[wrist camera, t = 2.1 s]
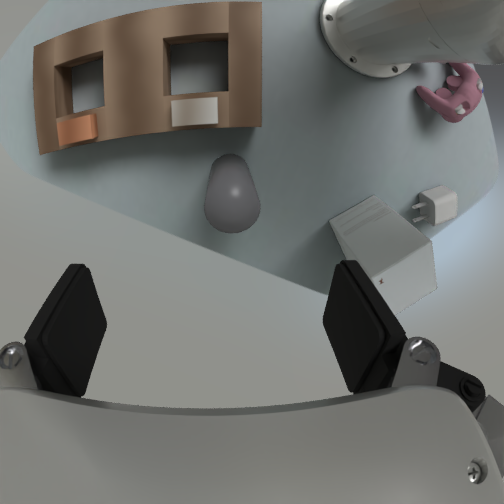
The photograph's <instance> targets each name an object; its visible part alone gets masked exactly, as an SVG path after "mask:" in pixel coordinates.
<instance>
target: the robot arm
mask: <svg viewBox="0 0 504 504" xmlns="http://www.w3.org/2000/svg"><path fill="white" fill-rule="evenodd" d="M326 18H328V20H329V21H328V20H326ZM320 25H321V30H322V33H323V36H324V38H325V40H326V42H327V44H328V45H329V47H330V49H331V50H332V51H333V52H334V54H335V55H336V56H337V57H338V58H339V59H340V60H341V61H342V62H343V63H344V64H346V65H347V66H349V67H350V68H351V69H353V70H355V71H357V72H359V73H361V74H364V75H367V76H370V77H378V78H388V77H393V76H397V75H399V74H401V73H403V72H404V71H405V70H407V69H408V68H409V67H410V65H411V64H412V63H429V62H439V63H441V64H446V63H447V62H450V63H473V64H486V65H498V64H503V63H504V0H324V2H323V4H322V6H321V10H320ZM350 59H351V60H352V62H351V61H350ZM323 325H324V328H325V331H326V333H327V336H328V338H329V341H330V343H331V346H332V348H333V351H334V353H335V356H336V359H337V361H338V363H339V366H340V369H341V372H342V374H343V377H344V379H345V382H346V385H347V388H348V390H349V391H350V392H353V393H354V394H353V395H348V396H342V397H336V398H329V399H323V400H317V401H310V402H302V403H294V404H285V405H274V406H262V407H245V408H216V409H215V408H214V409H199V408H165V407H150V406H139V405H128V404H120V403H112V402H104V401H97V400H91V399H85V398H81V396H83V395H84V394H85V392H86V388H87V385H88V382H89V379H90V375H91V372H92V369H93V366H94V363H95V360H96V357H97V353H98V351H99V348H100V345H101V342H102V339H103V337H104V334H105V331H106V328H107V321H106V318H105V315H104V312H103V310H102V306H101V304H100V301H99V298H98V295H97V291H96V288H95V285H94V282H93V279H92V275H91V272H90V270H89V268H86V266H85V265H84V264H70V265H69V266H68V268H67V269H66V271H65V272H64V274H63V275H62V276H61V278H60V279H59V281H58V282H57V284H56V286H55V287H54V288H53V290H52V291H51V293H50V294H49V296H48V298H47V299H46V301H45V302H44V304H43V306H42V307H41V309H40V310H39V312H38V314H37V315H36V317H35V319H34V320H33V322H32V324H31V326H30V327H29V329H28V331H27V333H26V334H25V336H24V338H25V340H26V343H25V345H23V344H22V343H20V342H11V343H8V344H7V345H5V346H4V347H3V348H2V349H1V350H0V504H504V483H503V480H502V478H503V476H504V406H503V405H502V404H501V403H499V402H498V401H497V400H495V399H494V398H493V397H492V396H490V395H488V396H487V397H486V396H485V389H484V386H483V384H482V383H481V381H480V380H479V379H478V378H476V377H475V376H473V375H471V374H468V373H466V372H464V371H461V370H459V369H457V368H455V367H452V366H450V365H448V364H445V363H443V362H441V361H440V352H439V350H438V348H437V347H436V345H435V344H434V343H432V342H431V341H430V340H428V339H426V338H422V337H412V338H409V339H408V338H407V337H406V335H405V333H406V332H405V331H404V330H403V328H402V326H401V325H400V323H399V322H398V320H397V318H396V317H395V315H394V314H393V312H392V311H391V309H390V308H389V306H388V305H387V303H386V302H385V300H384V299H383V297H382V296H381V294H380V293H379V291H378V290H377V288H376V287H375V286H374V284H373V283H372V281H371V280H370V278H369V277H368V276H367V274H366V273H365V271H364V270H363V268H362V267H361V266H360V264H359V263H358V262H357V261H356V260H342V261H341V262H340V264H337V265H336V267H335V271H334V275H333V279H332V283H331V288H330V292H329V296H328V300H327V304H326V307H325V311H324V315H323Z"/></svg>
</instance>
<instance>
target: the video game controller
mask: <svg viewBox="0 0 504 504" xmlns="http://www.w3.org/2000/svg"><path fill="white" fill-rule="evenodd" d="M448 63H449V64H450V65H451V66H452V68H453V69H454V70H455V71H456V72H457V73H458V74H459V75H460V76H454V75H451V76H448V77H447V84H448V88H449V89H450V90H452V91H455V93H454V94H453V95H452V93H451V92H450V91H449V90H448V89H446V88H439V89H438V90H437V91H436V94H435V93H433V92H432V91H431V90H429V89H428V88H426V87H424V86H417V87H416V91H417V93H418V94H419V96H420V97H421V98H422V99H423V100H424V101H425V102H426V103H427V104H428V105H429V106H430V107H431V108H433V109H434V110H435V111H437V112H438V113H439V114H441V115H442V117H443V118H444V119H445V120H446V121H448V122H451V123H456V122H459V121H461V120H462V119H463V117H465V116H467V115H468V114H470V113H471V112H472V111H473V110H474V109H475V108H476V107H477V105H478V104H479V102H480V100H481V97H482V93H483V84H482V81H481V79H480V77H479V75H478V74H477V73H476V72H475V71H474V70H473V69H472V68H471V67H470V66H468V65H467V64H466V63H450V62H448Z"/></svg>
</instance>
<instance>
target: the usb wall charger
mask: <svg viewBox="0 0 504 504" xmlns="http://www.w3.org/2000/svg"><path fill="white" fill-rule="evenodd" d="M419 202H420V203H419V204H416V205H414V206H412V208H413V209H416V208H419V207H420V215H421V216H420V217H417V218H415V219H413V220H412V221H414V222H418V221H421V220H423V219H425V220H426V221H427V222H428V223H430V224H431V225H432V226H436V225H438V224H441V223H443V222H446V221H448V220H450V219H453V218H455V217H456V216H457V195H456V193H455V192H454V191H452V190H450V189H449V188H447V187H445V186H443V185H441V186H438V187H435V188H432V189H429V190H426V191H423V192H420V193H419ZM415 220H417V221H415Z"/></svg>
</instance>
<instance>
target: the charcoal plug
mask: <svg viewBox="0 0 504 504" xmlns="http://www.w3.org/2000/svg"><path fill="white" fill-rule="evenodd" d="M204 210H205V215H206V218H207V220H208V221H209V223H210V224H211V225H212V226H213V227H214V228H216V229H217V230H219V231H222V232H225V233H239V232H242V231H244V230H247V229H248V228H250V227H251V226H252V225H253V224H254V223H255V222H256V220H257V218H258V216H259V213H260V201H259V198H258V194H257V191H256V188H255V185H254V182H253V179H252V176H251V173H250V171H249V168H248V165H247V163H246V162H245V160H244V159H243V158H241V157H240V156H238V155H235V154H226V155H222V156H220V157H219V158H217V159H216V160H215V161H214V163H213V164H212V167H211V171H210V176H209V182H208V187H207V193H206V199H205V205H204Z"/></svg>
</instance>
